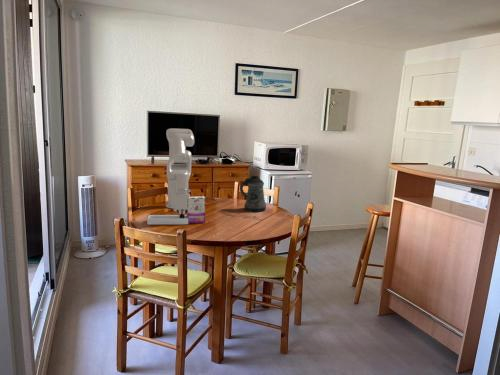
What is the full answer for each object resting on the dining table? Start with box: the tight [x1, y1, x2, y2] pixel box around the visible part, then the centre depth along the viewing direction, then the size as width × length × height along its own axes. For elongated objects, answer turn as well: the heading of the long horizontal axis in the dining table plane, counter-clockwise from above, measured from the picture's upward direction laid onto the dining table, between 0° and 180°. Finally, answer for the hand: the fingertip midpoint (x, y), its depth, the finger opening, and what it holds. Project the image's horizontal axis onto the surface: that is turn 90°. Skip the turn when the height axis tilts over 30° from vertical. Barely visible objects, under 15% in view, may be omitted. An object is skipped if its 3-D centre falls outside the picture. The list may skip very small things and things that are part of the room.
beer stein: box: [239, 175, 267, 213], centre depth 267 cm, size 16×19×25 cm
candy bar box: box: [186, 195, 206, 224], centre depth 228 cm, size 11×5×16 cm, turn 103°
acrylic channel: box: [146, 214, 189, 225], centre depth 226 cm, size 9×24×4 cm, turn 99°
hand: (182, 220), depth 227 cm, fingers closed
